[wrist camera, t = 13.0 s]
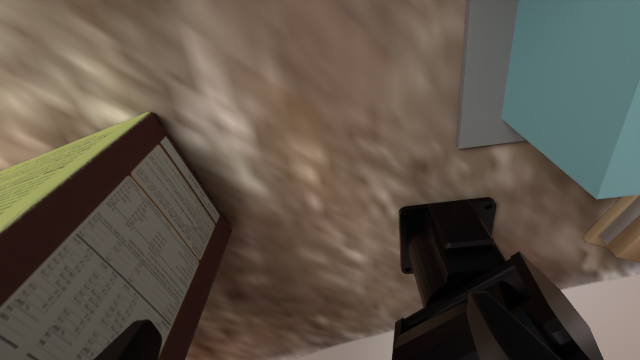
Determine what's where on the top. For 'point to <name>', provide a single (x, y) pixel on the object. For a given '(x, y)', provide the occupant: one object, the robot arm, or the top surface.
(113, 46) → the top surface
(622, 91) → the teal block
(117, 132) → the protein box
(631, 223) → the offcut stack
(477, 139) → the charcoal mat
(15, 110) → the top surface
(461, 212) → the robot arm
